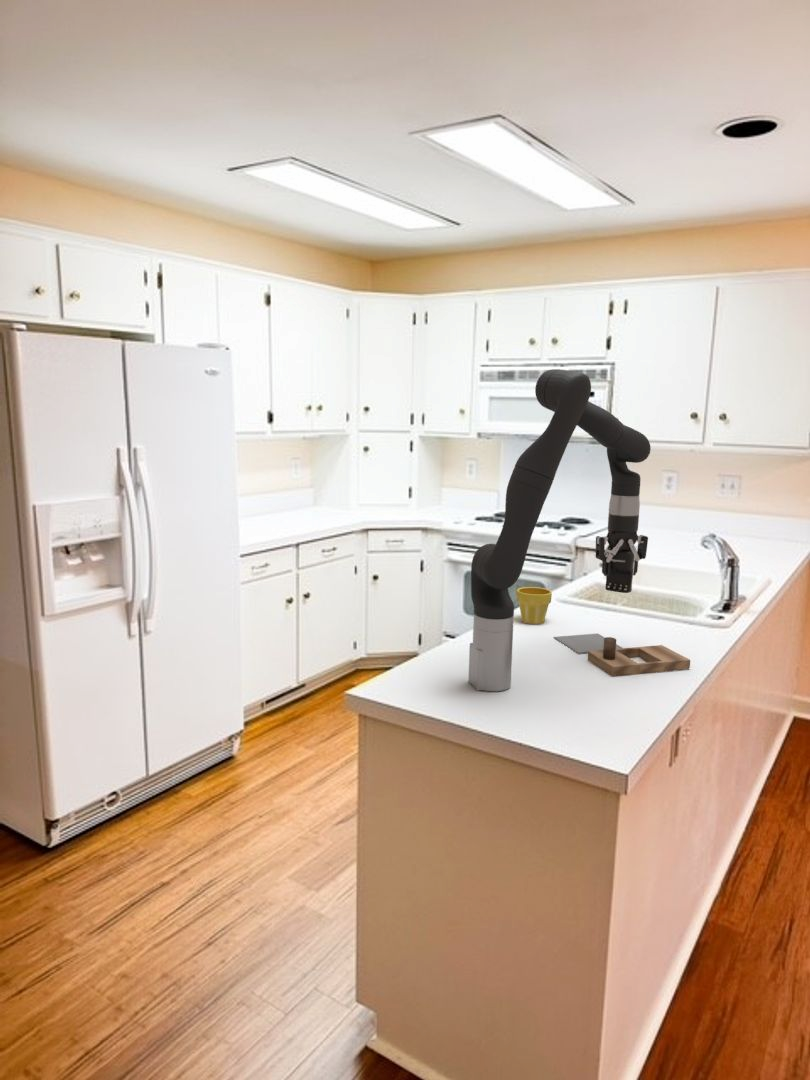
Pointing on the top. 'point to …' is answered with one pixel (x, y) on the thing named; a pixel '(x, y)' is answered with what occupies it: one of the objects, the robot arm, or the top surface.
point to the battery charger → (621, 572)
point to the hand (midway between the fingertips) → (619, 575)
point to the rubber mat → (583, 642)
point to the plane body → (621, 664)
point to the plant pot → (533, 604)
